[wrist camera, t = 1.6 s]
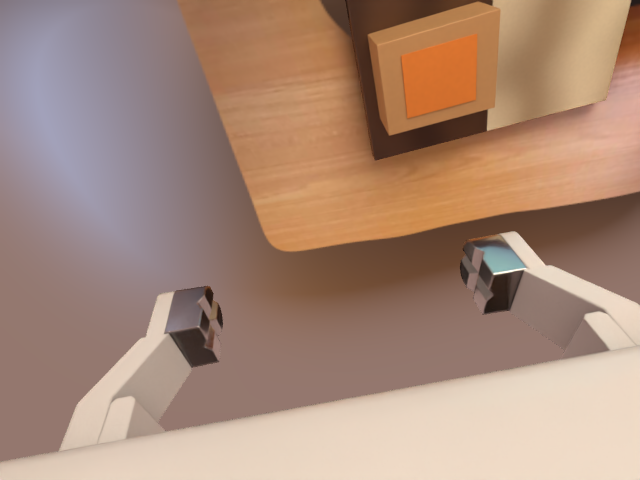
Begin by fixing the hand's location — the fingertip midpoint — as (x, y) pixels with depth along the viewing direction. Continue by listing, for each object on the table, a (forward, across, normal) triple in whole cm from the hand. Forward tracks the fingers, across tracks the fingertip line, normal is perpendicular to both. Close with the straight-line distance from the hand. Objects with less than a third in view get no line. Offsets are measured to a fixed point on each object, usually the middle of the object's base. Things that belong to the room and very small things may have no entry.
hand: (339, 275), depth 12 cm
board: (+22, -15, 0) cm, 27 cm away
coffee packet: (+21, -10, +1) cm, 23 cm away
